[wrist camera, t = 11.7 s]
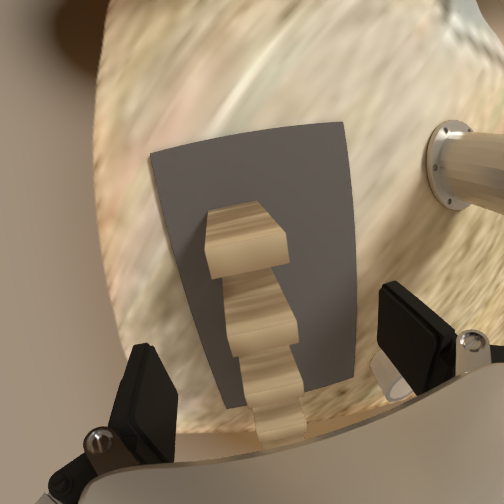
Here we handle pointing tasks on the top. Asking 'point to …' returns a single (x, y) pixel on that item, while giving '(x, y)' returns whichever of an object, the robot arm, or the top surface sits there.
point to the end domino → (243, 240)
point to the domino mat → (297, 234)
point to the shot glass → (389, 378)
